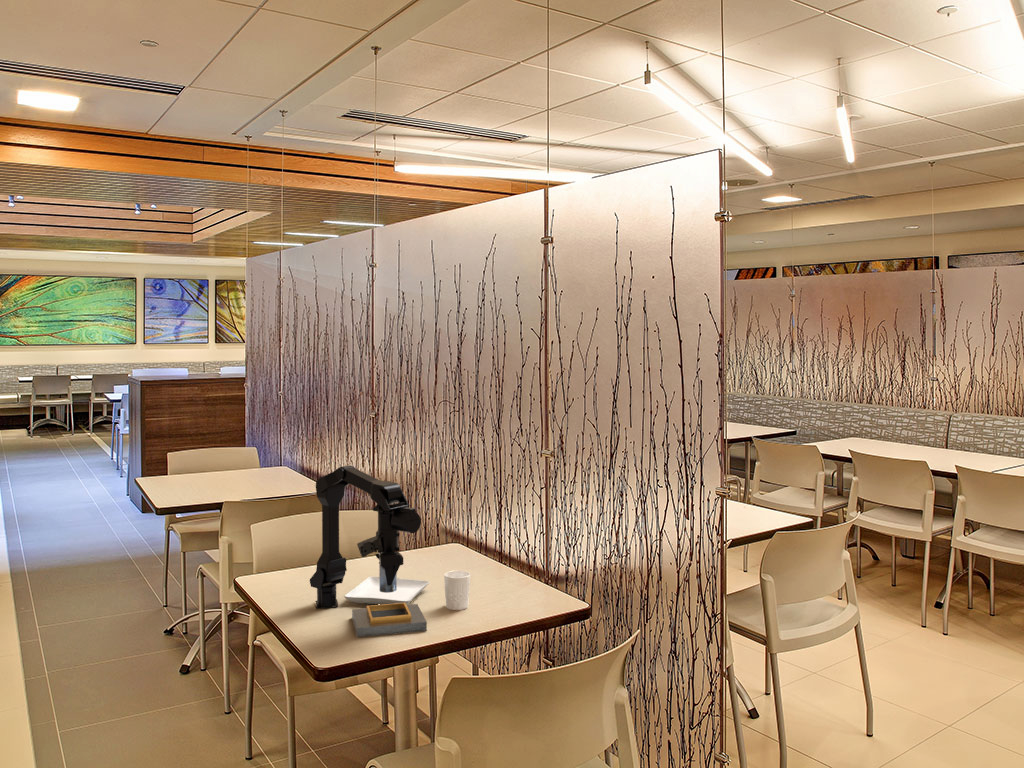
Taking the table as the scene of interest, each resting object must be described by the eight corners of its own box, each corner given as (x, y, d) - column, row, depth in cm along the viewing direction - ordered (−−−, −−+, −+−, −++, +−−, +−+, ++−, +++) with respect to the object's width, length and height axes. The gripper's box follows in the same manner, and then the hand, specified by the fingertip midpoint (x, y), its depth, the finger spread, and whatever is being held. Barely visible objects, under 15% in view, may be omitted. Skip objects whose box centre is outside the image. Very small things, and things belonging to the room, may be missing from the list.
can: (378, 588, 220) (378, 560, 220) (395, 586, 222) (395, 559, 222) (380, 593, 216) (380, 564, 216) (397, 591, 217) (397, 563, 217)
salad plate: (408, 611, 232) (408, 600, 231) (342, 606, 236) (342, 595, 236) (430, 590, 252) (430, 579, 252) (369, 586, 257) (369, 575, 256)
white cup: (470, 602, 239) (470, 570, 239) (469, 610, 231) (469, 577, 231) (444, 602, 239) (444, 570, 238) (443, 611, 231) (443, 577, 231)
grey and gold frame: (352, 618, 224) (352, 604, 224) (417, 612, 230) (417, 599, 229) (356, 637, 209) (356, 622, 209) (426, 630, 214) (426, 616, 214)
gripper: (356, 522, 225) (356, 575, 226) (362, 537, 207) (362, 595, 208) (394, 520, 228) (394, 573, 229) (403, 534, 210) (403, 591, 211)
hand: (388, 582), depth 219 cm, fingers closed on can, 5 cm apart
